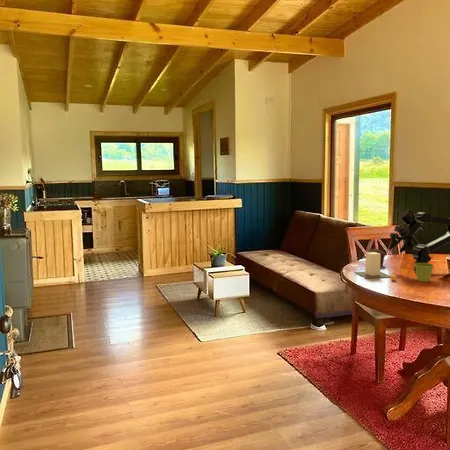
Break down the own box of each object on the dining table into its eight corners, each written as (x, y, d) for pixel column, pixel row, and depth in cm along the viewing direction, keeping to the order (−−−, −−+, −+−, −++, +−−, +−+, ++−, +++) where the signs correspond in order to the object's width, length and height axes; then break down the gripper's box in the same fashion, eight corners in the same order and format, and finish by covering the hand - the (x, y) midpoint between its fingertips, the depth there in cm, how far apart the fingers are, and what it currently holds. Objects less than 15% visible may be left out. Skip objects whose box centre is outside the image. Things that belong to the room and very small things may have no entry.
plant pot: (431, 283, 230) (432, 267, 229) (412, 281, 235) (412, 265, 234) (434, 279, 238) (435, 263, 237) (415, 277, 243) (415, 262, 242)
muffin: (361, 264, 278) (361, 248, 277) (373, 262, 284) (374, 247, 282) (376, 268, 268) (377, 251, 267) (389, 266, 274) (389, 249, 272)
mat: (379, 271, 259) (379, 270, 259) (392, 277, 244) (392, 276, 244) (354, 272, 257) (354, 271, 257) (365, 278, 242) (365, 278, 242)
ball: (394, 279, 239) (395, 274, 239) (397, 281, 236) (397, 275, 236) (389, 280, 239) (389, 274, 238) (392, 281, 236) (392, 275, 235)
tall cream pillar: (373, 272, 254) (374, 252, 253) (379, 275, 249) (380, 253, 247) (365, 273, 252) (365, 252, 251) (371, 275, 247) (371, 254, 246)
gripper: (392, 218, 261) (376, 238, 260) (414, 222, 244) (397, 243, 242) (403, 231, 265) (387, 251, 263) (426, 235, 247) (408, 256, 245)
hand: (394, 250), depth 253 cm, fingers open, 9 cm apart
